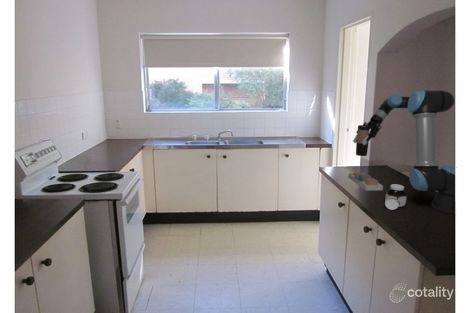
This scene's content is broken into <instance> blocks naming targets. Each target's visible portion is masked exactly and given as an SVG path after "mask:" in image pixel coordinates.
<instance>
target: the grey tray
mask: <svg viewBox="0 0 470 313" xmlns="http://www.w3.org/2000/svg"><path fill="white" fill-rule="evenodd" d="M353 173H354V172H353ZM353 173H352V172H349V173H348V174H347V175H348V177H347V178H348V179H349V180H351V181H352V182H354V183H355V184H356V185H358V186H359V188H362V190H364V191H365V190H366V191H367V192H368V191H370V192H371V191H383V190H384V189H383V188H384V185H382V184H381V183H379V182H378V185H367V184H366V183H364V181H362V180H361V179H359V177H356V176H355V175H353ZM362 173H363V174H365V173H364V172H362Z"/></svg>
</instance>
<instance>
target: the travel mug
mask: <svg viewBox="0 0 470 313" xmlns="http://www.w3.org/2000/svg"><path fill="white" fill-rule="evenodd" d="M357 130H358V131H357ZM357 130H356V131H357V133H356V135H357V142H356V143H355V146H356V147H355V155H356V156H360V157H366V156H368V148H369V141H370V140H369V141H368V142H367V143H366V144H365V146H364V145H363V144H362V142H363V141H364V139H365V138H366V137H367V136H369V135H368V134H369V133H370V130H371V129H370V126H369V127H368V126H367V125H363V124H360V125H357Z"/></svg>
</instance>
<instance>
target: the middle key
mask: <svg viewBox="0 0 470 313" xmlns="http://www.w3.org/2000/svg"><path fill="white" fill-rule="evenodd" d="M365 178H372V176H371V175H370V174H368V173H364V174H359V179H361V180H362V181H365Z"/></svg>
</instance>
